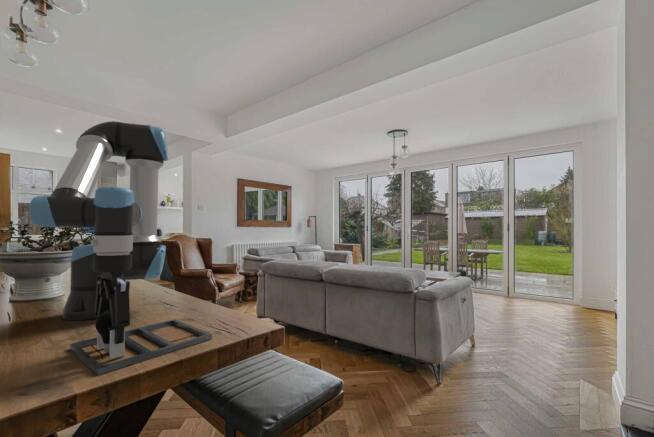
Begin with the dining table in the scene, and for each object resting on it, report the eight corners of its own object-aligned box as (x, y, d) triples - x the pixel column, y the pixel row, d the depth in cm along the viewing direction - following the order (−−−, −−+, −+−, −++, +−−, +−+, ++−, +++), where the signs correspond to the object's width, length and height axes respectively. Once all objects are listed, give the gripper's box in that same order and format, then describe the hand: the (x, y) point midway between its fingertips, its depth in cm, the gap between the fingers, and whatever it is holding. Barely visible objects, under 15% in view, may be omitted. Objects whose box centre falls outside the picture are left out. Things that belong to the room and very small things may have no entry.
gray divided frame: (69, 349, 73) (69, 344, 73) (174, 323, 93) (174, 319, 93) (97, 375, 61) (98, 369, 61) (212, 338, 80) (212, 334, 80)
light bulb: (101, 361, 67) (102, 315, 67) (89, 354, 70) (91, 310, 70) (130, 351, 72) (131, 309, 72) (118, 346, 75) (119, 305, 75)
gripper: (79, 251, 74) (76, 346, 74) (110, 258, 62) (106, 371, 62) (115, 250, 80) (112, 337, 80) (149, 255, 68) (146, 359, 68)
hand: (110, 352), depth 71 cm, fingers open, 7 cm apart
